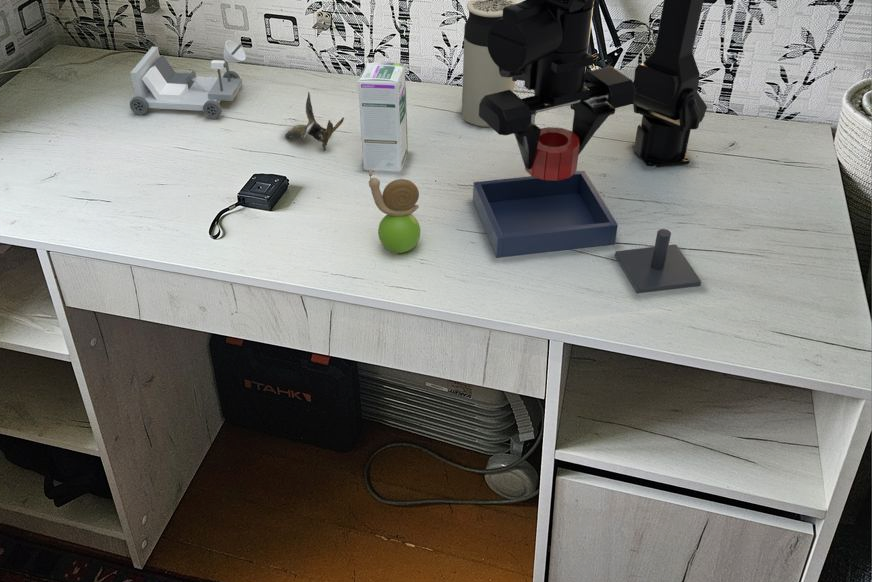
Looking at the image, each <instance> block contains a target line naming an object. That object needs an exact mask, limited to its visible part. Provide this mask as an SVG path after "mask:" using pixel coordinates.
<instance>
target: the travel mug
mask: <svg viewBox="0 0 872 582" xmlns="http://www.w3.org/2000/svg"><path fill="white" fill-rule="evenodd" d="M518 3H519V2H517V1H516V0H468V1H467V3H466V9H467V10H468V19H467V20H466V21H465V23H464V29H463V34H464V35H463V57H462V58H463V59H462V61H463V62H462V64H463V65H462V88H461V89H462V91H461V95H462V96H461V117H462V118H463V120H464V121H466V122H467V123H470V124H472V125H473V126H478V127H488V128H491V127H490V126H489V125H488V124H487V123H486V122H485V121H484V120H482V119H481V118H480V117H479V104H480V101H481V99H482V98H483V97H484V96H485V95H489V94H494V93H498V92H502V91H506V90H511V91H512V92H513V93H515V83H516V81H512V77H510V78H507V77H502V76H501V75H500V73H499V67H498V66H497V65H496V64H495V63H494V61H493V60H492V58H491V56H490V54H489V52H488V48H487V34H488V33H489V30H490V27H491V26H492V24H493V23H494V22H496V21H497V20H499V19H501V18H502V17H503V9H504V7H506V6H509V5H512V4H518Z"/></svg>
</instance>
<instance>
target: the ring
mask: <svg viewBox="0 0 872 582" xmlns="http://www.w3.org/2000/svg"><path fill="white" fill-rule="evenodd" d="M540 129H541V132H540V137H539V142H538V146H537V151H536V156H535V160H534V163H533V166H532V168H531V169H527V168H526V167H525V166H524V170H525V171H526V172H527V173H528V174H529V175H530V176H533V177H536V178H539V179H542V180H544V179H545V180H547V181H557V180H558V181H560V180H563V179H567V178H569V177H571V176H572V175H573V174H574V173H576V171H578V170H577V169H578V160H579V155H580V154H579V146H580V141H579V137H578V136H577V135H576V134H575V133H573V132H572V130H570V129H566V128H563V127H559V126H558V127H556V126H553V127H552V126H546V127H540ZM578 154H579V155H578Z"/></svg>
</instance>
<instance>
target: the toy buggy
mask: <svg viewBox="0 0 872 582" xmlns="http://www.w3.org/2000/svg"><path fill="white" fill-rule="evenodd" d="M242 46H243V45H242V43H237V42H236V41H233V40H230V39H229V40H226V41H225V44H224V47H223V59H222V60H220V59H212V60H211V62H210V67H211V69H212V70H217V76H218V77H215V76H196V75H197V72H196V71H194V70H192V71H191V72H190V73H189V72H176V71H175V70H174V68H173V67H172V66H171V64H170V62H169V61H168V60H167V58H166V57H165V55H160V50H159V46H151V47H150V48H149V50H148V51H147V52H146V53H145V54H144V56H143V57H142V58H141V59H140V61H139V62H138V63H137V64H136V65H135V66H134V68H133V69H132V70H131V71H130V77H131V83H132V86H133V91H134V97H132V98H131V99H130V101H129V108H130V110H131V111H132V112H133V113H135V114H136V115H138V116H142V115H143V116H144V115H146V114H147V112H148V111H149V109H162V110H178V111H179V110H180V111H181V110H182V111H199V112H203V114H204V116H205V117H207V118H208V119H211V120H216V119H219V118H220V116H221V115H222V112H223V108H222V106H221V104H220V103H221V101H228V102H233V100H234V99H235V98H236V95H237V94H238V93H239V91H240V89H241V87H242V86H243V79H242V78H241V77H240V75H239V73H237V72H236V71H234V70H230V67H229V64H237V63H240V62H244V61H246V58H247V55H246V52H245V50H244V49H243V47H242ZM224 69H225V70H226V72H224V74H223V75H222V73H221V70H224Z"/></svg>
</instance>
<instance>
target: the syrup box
mask: <svg viewBox="0 0 872 582" xmlns="http://www.w3.org/2000/svg"><path fill="white" fill-rule="evenodd" d="M357 86H358V103H359V119H360V137H361V149H362V162H363V163H362V165H363V170H364V171H367V172H368V170H369V169H372V172H375V171H385V172H396V173H397V172H398V173H400V172H402V170H403V168H404V165H405V162H406V160H407V158H408V157H407V156H408V154H409V151H408V150H409V148H408V147H409V146H408V117H407V115H408V113H407V112H408V111H407V88H406V87H407V86H406V65H405V64H404V63H397V62H388V61H387V62H386V61H378V62H377V61H376V62H375V61H374V62H373V61H372V62H366V64H365V66H364V68H363V70H362V71H361V73H360V76H359V78H358V80H357Z"/></svg>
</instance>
